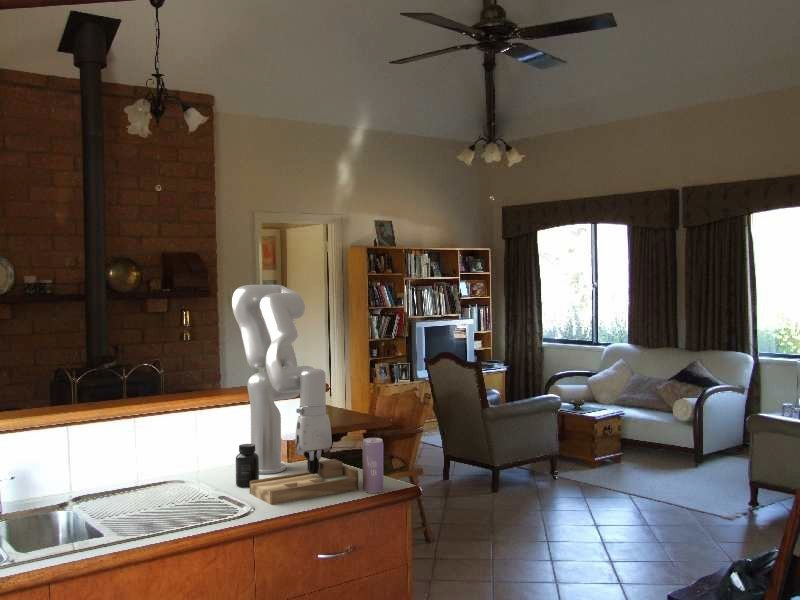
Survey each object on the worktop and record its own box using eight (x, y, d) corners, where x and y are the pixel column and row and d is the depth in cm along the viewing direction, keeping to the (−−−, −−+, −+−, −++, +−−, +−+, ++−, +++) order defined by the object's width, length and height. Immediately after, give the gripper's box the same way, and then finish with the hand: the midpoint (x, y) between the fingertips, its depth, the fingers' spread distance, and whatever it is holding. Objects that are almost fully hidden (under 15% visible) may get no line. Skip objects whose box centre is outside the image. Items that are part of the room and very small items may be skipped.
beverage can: (384, 488, 240) (384, 437, 239) (381, 494, 234) (382, 442, 233) (364, 488, 240) (364, 437, 240) (361, 493, 234) (361, 441, 234)
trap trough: (249, 493, 234) (249, 474, 234) (333, 479, 250) (333, 461, 250) (271, 504, 223) (271, 484, 222) (358, 489, 239) (358, 470, 239)
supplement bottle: (263, 484, 245) (263, 444, 244) (248, 489, 239) (248, 448, 238) (246, 481, 248) (246, 441, 248) (230, 486, 242) (230, 445, 242)
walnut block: (316, 474, 244) (316, 461, 244) (334, 472, 247) (334, 459, 247) (324, 478, 240) (324, 464, 240) (342, 475, 243) (342, 462, 243)
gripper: (296, 415, 233) (296, 479, 234) (341, 410, 242) (341, 471, 242) (284, 411, 239) (284, 473, 240) (328, 407, 248) (328, 467, 249)
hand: (313, 472), depth 241 cm, fingers closed
